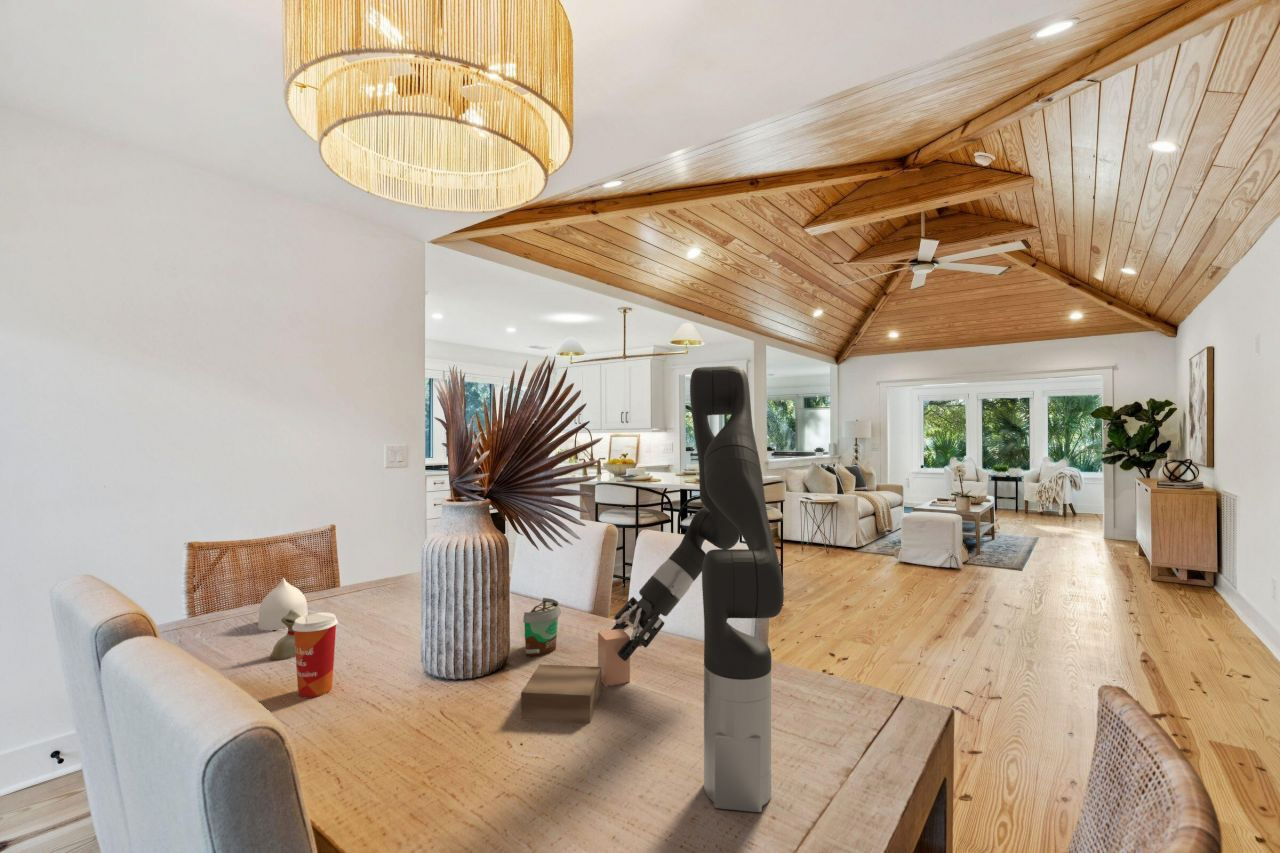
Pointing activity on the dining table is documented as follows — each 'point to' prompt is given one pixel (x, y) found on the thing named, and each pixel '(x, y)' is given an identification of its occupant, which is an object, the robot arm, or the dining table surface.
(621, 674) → the peach tall block
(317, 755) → the dining table surface
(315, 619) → the paper cup
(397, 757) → the dining table surface
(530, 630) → the food container
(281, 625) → the teardrop
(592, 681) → the walnut block
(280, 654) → the tied pouch
